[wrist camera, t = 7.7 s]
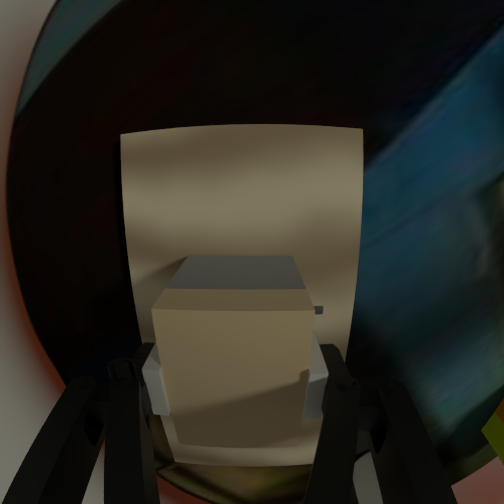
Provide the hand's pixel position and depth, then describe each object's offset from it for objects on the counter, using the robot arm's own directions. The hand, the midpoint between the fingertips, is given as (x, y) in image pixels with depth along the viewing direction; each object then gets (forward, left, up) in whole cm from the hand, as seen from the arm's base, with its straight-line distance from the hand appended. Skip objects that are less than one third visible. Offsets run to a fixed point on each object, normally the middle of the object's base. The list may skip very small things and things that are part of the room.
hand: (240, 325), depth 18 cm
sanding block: (0, 0, -1) cm, 1 cm away
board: (+3, 0, -2) cm, 3 cm away
